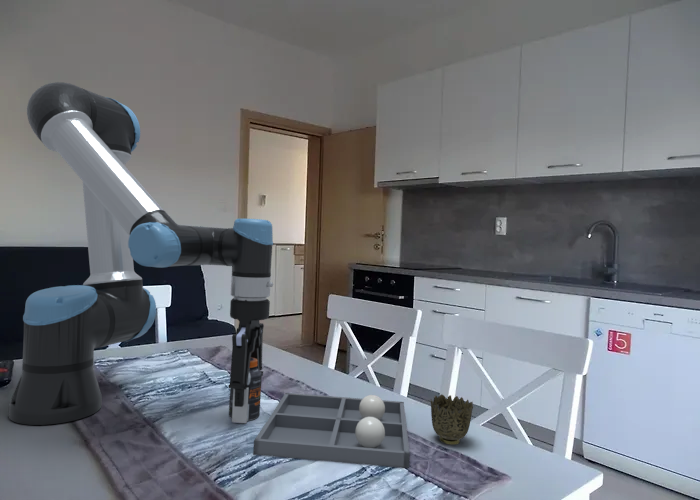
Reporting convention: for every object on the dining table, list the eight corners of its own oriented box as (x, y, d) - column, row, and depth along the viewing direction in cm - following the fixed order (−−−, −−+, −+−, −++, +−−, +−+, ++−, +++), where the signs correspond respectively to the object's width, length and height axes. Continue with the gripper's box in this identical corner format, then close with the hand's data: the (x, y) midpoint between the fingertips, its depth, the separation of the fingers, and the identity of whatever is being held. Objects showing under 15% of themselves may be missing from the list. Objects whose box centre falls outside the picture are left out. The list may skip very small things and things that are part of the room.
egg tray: (252, 460, 76) (254, 440, 76) (284, 408, 101) (285, 392, 101) (408, 474, 75) (409, 453, 75) (402, 417, 99) (403, 401, 99)
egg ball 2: (353, 452, 79) (355, 421, 79) (355, 439, 84) (356, 411, 84) (384, 454, 79) (385, 424, 79) (384, 442, 84) (385, 413, 84)
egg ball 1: (357, 425, 91) (359, 398, 91) (359, 415, 96) (360, 390, 96) (384, 427, 90) (385, 400, 90) (384, 417, 95) (385, 392, 95)
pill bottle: (252, 423, 92) (255, 364, 91) (223, 419, 93) (226, 360, 92) (264, 412, 97) (266, 356, 97) (236, 409, 99) (239, 353, 98)
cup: (462, 458, 81) (465, 411, 81) (421, 446, 85) (424, 401, 85) (476, 444, 87) (478, 400, 87) (437, 433, 91) (440, 391, 91)
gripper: (256, 305, 85) (250, 436, 85) (280, 293, 104) (275, 400, 105) (213, 303, 85) (208, 433, 85) (246, 291, 105) (241, 397, 105)
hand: (245, 414), depth 95 cm, fingers open, 7 cm apart
